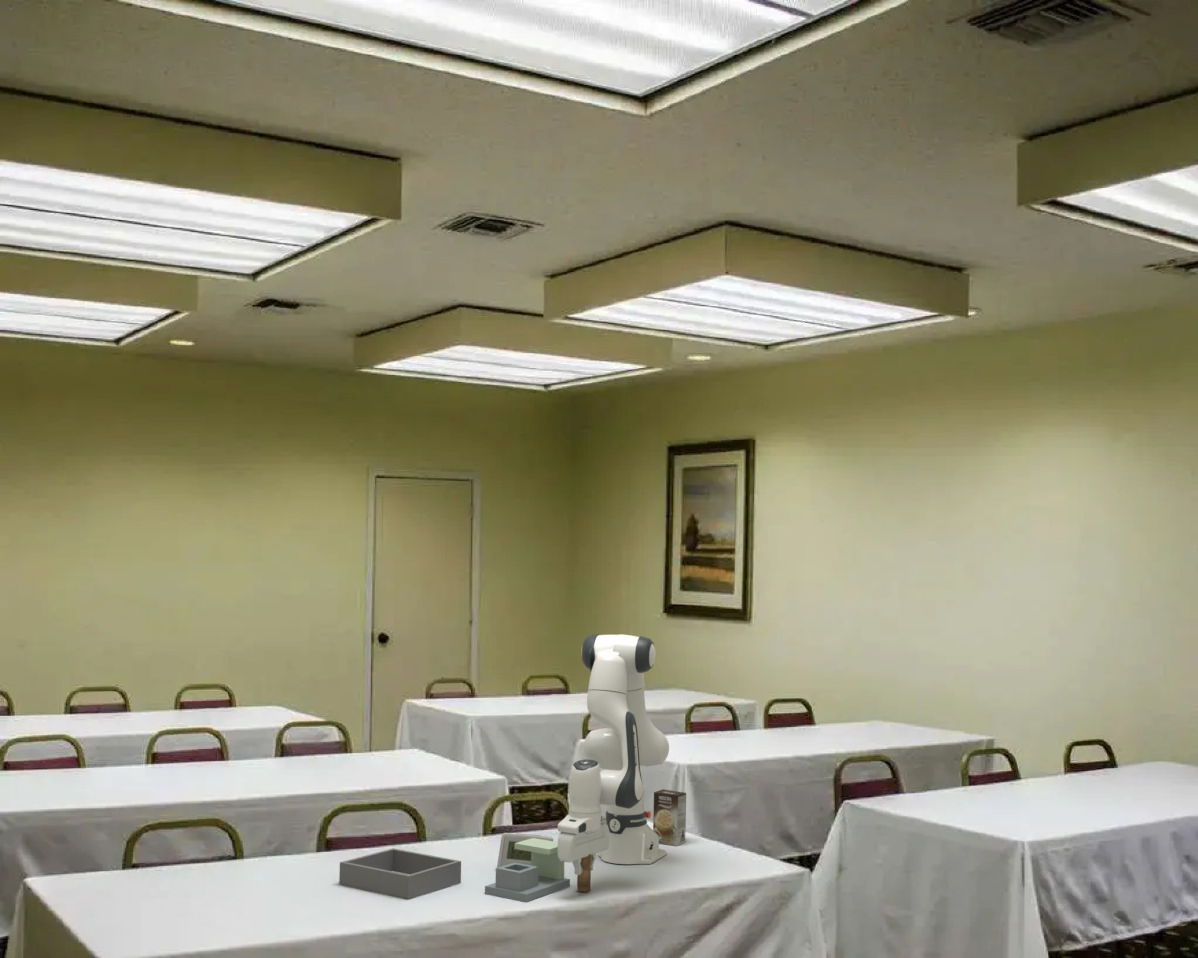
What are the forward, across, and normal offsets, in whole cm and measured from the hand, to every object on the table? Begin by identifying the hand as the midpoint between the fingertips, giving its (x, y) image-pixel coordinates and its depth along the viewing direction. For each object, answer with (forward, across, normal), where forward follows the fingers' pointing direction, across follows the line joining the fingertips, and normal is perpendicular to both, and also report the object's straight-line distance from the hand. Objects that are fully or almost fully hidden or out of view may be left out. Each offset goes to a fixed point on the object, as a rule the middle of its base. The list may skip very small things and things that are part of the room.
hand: (584, 872), depth 350 cm
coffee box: (+6, -66, -12) cm, 67 cm away
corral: (+5, +24, -45) cm, 51 cm away
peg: (+5, 0, 0) cm, 5 cm away
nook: (+5, +8, -13) cm, 16 cm away
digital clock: (+6, -6, -25) cm, 26 cm away
